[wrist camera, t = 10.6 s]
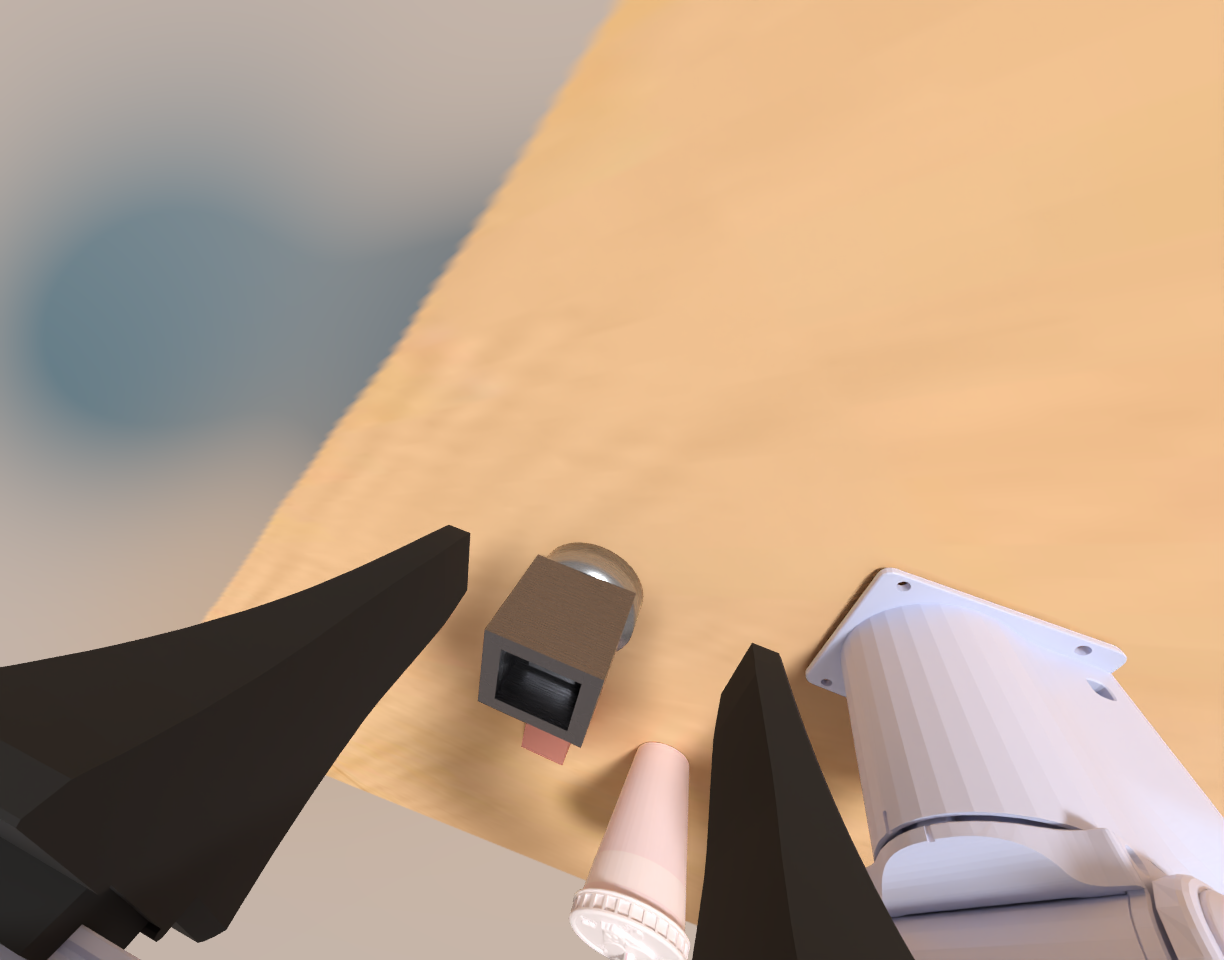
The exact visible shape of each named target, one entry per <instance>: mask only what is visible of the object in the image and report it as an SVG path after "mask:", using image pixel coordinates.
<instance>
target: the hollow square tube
mask: <svg viewBox="0 0 1224 960" xmlns="http://www.w3.org/2000/svg"><path fill="white" fill-rule="evenodd" d="M635 595H636V593H634V592H632V591H629V590H627V589H624V588H622V587H619V586H616V585H614V584H611V583H609V582H606V581H604V580H601V579H599V578H596V577H594V576H591V575H589V574H586V573H583V572H581V571H578V570H576V569H573V568H571V567H568V566H566V565H563V564H561V563H558V562H555V561H553V560H550V559H548V558H545V557H543V556H540V555H538V556H537V557H536V559H535V560H534V561H533V563H532V564H531V566H530V567H529V568H528V570H527V571H526V573H525V574H524V575H523V577H522V578H521V580H520V581H519V582H518V584H517V585H516V587H515V588H514V589H513V591H512V592H511V593H510V595H509V596H508V598H507V599H506V600H505V602H504V603H503V605H502V606H501V607H500V609H499V610H498V612H497V613H496V614H495V616H494V617H493V619H492V620H491V621H490V623H489V624H488V626H487V627H486V628H485V633H484V643H483V654H482V664H481V675H480V685H479V695H478V701H479V702H481V703H483V704H485V705H488V706H490V707H492V708H494V709H496V710H499V711H501V712H503V713H505V714H507V715H510V716H512V717H514V718H516V719H518V720H521V721H523V722H525V723H527V724H529V725H532V726H534V727H536V728H538V729H540V730H543V731H545V732H547V733H549V734H551V735H554V736H556V737H558V738H560V739H562V740H565V741H567V742H569V743H571V744H574V745H576V746H578V747H580V748H581V746H582V743H583V740H584V738H585V735H586V732H587V729H588V727H589V724H590V721H591V718H592V716H593V713H594V710H595V707H596V705H597V702H598V699H599V696H600V694H601V691H602V688H603V685H604V683H605V680H606V677H607V674H608V672H609V669H610V666H611V663H612V661H613V658H614V655H615V652H616V649H617V646H618V644H619V641H620V638H621V635H622V632H623V629H624V627H625V624H626V621H627V618H628V615H629V612H630V610H631V607H632V604H633V601H634V598H635ZM529 662H532V663H534V664H536V665H538V666H541V667H543V668H545V669H548V670H550V671H552V672H555V673H557V674H559V675H562V676H564V677H566V678H569V679H571V680H573V681H575V684H571V683H569V682H567V681H564V680H562V679H560V678H557V677H555V676H553V675H551V674H548V673H546V672H544V671H541V670H539V669H537V668H534V667H532V666H530V665H529Z"/></svg>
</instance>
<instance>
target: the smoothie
mask: <svg viewBox="0 0 1224 960" xmlns="http://www.w3.org/2000/svg"><path fill="white" fill-rule="evenodd" d="M688 798H689V762H688V760H687V759H686V757H685V756H684V755H683V754H682V753H681V752H679V751H678V750H676V749H675V748H673V747H671V746H668V745H666V744H662V743H657V742H648V743H644V744H642V745H640V746H639V747H638V749H637V752H636V754H635V757H634V759H633V762H632V765H631V767H630V770H629V772H628V775H627V777H626V780H625V782H624V785H623V788H622V790H621V793H620V795H619V798H618V800H617V803H616V806H615V808H614V811H613V813H612V816H611V818H610V821H609V823H608V826H607V829H606V831H605V834H604V836H603V839H602V841H601V844H600V847H599V849H598V852H597V854H596V856H595V859H594V861H593V864H592V867H591V869H590V872H589V875H588V877H587V880H586V883H585V885H584V888H583V889H580V890H579V891H578V892H576V893H575V895H574V899H573V902H574V903H573V906H572V910H571V913H570V916H569V921H570V925H571V927H572V929H573V930H574V931H575V933H576V934H577V935H578V936H579V937H580V938H581V939H582V940H583V941H584V942H585V943H586V944H587V945H589V946H590V947H591V948H593V949H594V950H596V951H597V952H599V953H600V954H602V955H603V956H605V957H607V958H609V959H610V960H688V952H689V950H690V940H689V938H688V937H687V935H686V933H685V911H686V872H687V835H688Z"/></svg>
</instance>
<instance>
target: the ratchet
mask: <svg viewBox="0 0 1224 960" xmlns="http://www.w3.org/2000/svg"><path fill="white" fill-rule="evenodd" d="M547 558H548V559H550V560H553V561H555V562H558V563H561V564H563V565H566V566H568V567H571V568H573V569H576V570H578V571H581V572H583V573H586V574H589V575H591V576H594V577H596V578H599V579H601V580H604V581H606V582H609V583H611V584H614V585H616V586H619V587H622V588H624V589H627V590H629V591H632V592H634V593H636V595H635V598H634V601H633V604H632V607H631V610H630V612H629V615H628V618H627V621H626V624H625V627H624V629H623V632H622V635H621V638H620V641H619V644H618V646H617V649H616V651H618V650H620V649H621V648H623V647H624V646H625V645H626V644H627V643H628V641H629V640H630V638H631V635H632V632H633V629H634V627H635V624H636V621H637V618H638V615H639V612H640V609H641V606H642V602H643V590H642V586H641V583H640V581H639V578H638V577H637V575H636V573H635V572H634V570H633V569H632V568H631V567H630V566H629V565H628V563H627V562H625V561H624V560H623V559H622V558H621V557H619V556H618V555H616V554H615V553H613V552H611V551H610V550H607V549H605V548H603V547H600V546H597V545H593V544H589V543H570V544H566V545H562V546H560V547H558V548H556V549H555V550H553V551H552V552H551V553H550V554H549V556H548V557H547ZM529 665H530V666H532V667H534V668H537V669H539V670H541V671H544V672H546V673H548V674H551V675H553V676H555V677H557V678H560V679H562V680H564V681H567V682H569V683H571V684H575V681H573V680H571V679H569V678H566V677H564V676H562V675H559V674H557V673H555V672H552V671H550V670H548V669H545V668H543V667H541V666H538V665H536V664H534V663H532V662H529ZM570 744H571V743H569V742H567V741H565V740H562V739H560V738H558V737H556V736H554V735H551V734H549V733H547V732H545V731H543V730H540V729H538V728H536V727H534V726H532V725H529V724H527V723H526V726H525V731H524V736H523V741H522V746H521V747H523V748H526V749H528V750H530V751H532V752H534V753H536V754H538V755H541V756H543V757H545V758H547V759H549V760H551V761H554V762H556V763H558V764H560V765H563V762H564V759H565V757H566V754H567V752H568V749H569V746H570Z"/></svg>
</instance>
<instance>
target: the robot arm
mask: <svg viewBox="0 0 1224 960" xmlns="http://www.w3.org/2000/svg"><path fill="white" fill-rule="evenodd" d="M469 546H470V533H469V532H466V531H463V530H461V529H458V528H456V527H453V526H451V525H447V526H445V527H443V528H441V529H439V530H437V531H434V532H432V533H430V534H428V535H426V536H424V537H422V538H420V539H418V540H416V541H414V542H412V543H410V544H408V545H406V546H403V547H401V548H399V549H397V550H395V551H393V552H391V553H389V554H387V555H385V556H382V557H380V558H378V559H376V560H374V561H372V562H369V563H367V564H365V565H363V566H361V567H359V568H356V569H354V570H352V571H349V572H347V573H345V574H342V575H340V576H337V577H335V578H333V579H330V580H328V581H326V582H323V583H321V584H318V585H316V586H313V587H311V588H308V589H306V590H303V591H301V592H298V593H295V594H292V595H290V596H287V597H284V598H281V599H278V600H275V601H272V602H270V603H267V604H264V605H261V606H258V607H255V608H252V609H249V610H246V611H242V612H239V613H235V614H232V615H228V616H225V617H222V618H218V619H215V620H211V621H208V622H204V623H201V624H198V625H194V626H191V627H188V628H184V629H180V630H176V631H172V632H168V633H164V634H160V635H156V636H152V637H148V638H144V639H139V640H135V641H131V642H126V643H122V644H118V645H114V646H109V647H104V648H99V649H95V650H90V651H85V652H80V653H75V654H69V655H65V656H59V657H54V658H48V659H43V660H38V661H33V662H28V663H22V664H17V665H11V666H5V667H0V960H140V959H138V958H137V957H135V956H133V955H132V954H130V953H128V952H127V951H125V950H124V949H125V948H126V947H127V946H128V945H129V944H130V942H131V941H132V940H133V939H134V938H135V937H136V936H137V934H138V933H139V932H141V933H143V934H144V935H146V936H148V937H149V938H151V939H152V940H154V941H156V942H157V941H158V940H160V939H161V938H162V937H163V936H164V935H165V934H166V933H167V931H168V930H169V929H170V928H171V927H172V928H174V929H176V930H177V931H179V932H181V933H182V934H184V935H186V936H187V937H189V938H191V939H192V940H194V941H196V942H197V943H199V942H203V941H205V940H208V939H210V938H212V937H214V936H216V935H218V934H220V933H221V932H223V931H225V930H226V929H227V928H228V926H229V924H230V923H231V921H232V919H233V918H234V916H235V914H236V913H237V911H238V909H239V908H240V906H241V905H242V903H243V901H244V899H245V898H246V897H247V895H248V893H249V892H250V890H251V888H252V887H253V885H254V884H255V882H256V880H257V879H258V877H259V876H260V874H261V872H262V871H263V869H264V867H265V866H266V864H267V863H268V861H269V859H270V858H271V856H272V855H273V853H274V851H275V850H276V848H277V847H278V845H279V844H280V842H281V841H282V839H283V838H284V836H285V834H286V833H287V832H288V830H289V829H290V827H291V825H292V824H293V822H294V821H295V819H296V818H297V816H298V815H299V813H300V812H301V810H302V809H303V807H304V806H305V804H306V803H307V801H308V800H309V798H310V797H311V795H312V794H313V792H314V790H315V789H316V788H317V786H318V785H319V784H320V782H321V781H322V779H323V777H324V776H325V775H326V773H327V772H328V770H329V769H330V768H331V766H332V765H333V763H334V762H335V760H336V759H337V757H338V756H339V754H340V753H341V752H342V750H343V749H344V747H345V746H346V745H347V743H348V742H349V740H350V739H351V738H352V736H353V735H354V733H355V732H356V731H357V729H358V728H359V727H360V725H361V724H362V722H363V721H364V720H365V718H366V717H367V716H368V714H369V713H370V712H371V711H372V709H373V708H374V707H375V705H376V704H377V703H378V702H379V700H380V699H381V698H382V697H383V696H384V695H385V693H386V692H387V691H388V690H389V689H390V688H391V686H392V685H393V684H394V683H395V682H396V681H397V679H398V678H399V677H400V676H401V675H402V674H403V672H404V671H405V670H406V669H407V668H408V667H409V665H410V664H411V663H412V662H413V661H414V660H415V658H416V657H417V656H418V655H419V654H420V653H421V651H422V650H423V649H424V648H425V647H426V645H427V644H428V643H429V642H430V641H431V640H432V638H433V637H434V636H435V635H436V634H437V632H438V631H439V630H440V629H441V628H442V626H443V625H444V624H445V623H446V621H447V620H448V618H449V617H450V615H451V614H452V612H453V611H454V609H455V608H456V606H457V605H458V603H459V602H460V600H461V599H462V597H463V596H464V594H465V592H466V591H467V583H468V564H469ZM900 582H908V583H907V584H905V585H897V584H898V583H900ZM1079 646H1083V647H1079ZM1077 647H1079V648H1077ZM1126 660H1127V657H1126V656H1125V654H1124V653H1123V652H1122V651H1121V649H1120V648H1118V647H1116V646H1114V645H1112V644H1109V643H1106V642H1103V641H1100V640H1097V639H1094V638H1092V637H1089V636H1086V635H1083V634H1080V633H1077V632H1075V631H1072V630H1069V629H1066V628H1063V627H1060V626H1058V625H1055V624H1052V623H1049V622H1046V621H1043V620H1041V619H1038V618H1035V617H1032V616H1029V615H1026V614H1024V613H1021V612H1018V611H1015V610H1012V609H1009V608H1007V607H1004V606H1001V605H998V604H995V603H992V602H989V601H987V600H984V599H981V598H978V597H975V596H972V595H970V594H967V593H964V592H961V591H958V590H955V589H953V588H950V587H947V586H944V585H941V584H938V583H936V582H933V581H930V580H927V579H924V578H921V577H919V576H916V575H913V574H910V573H907V572H904V571H901V570H899V569H896V568H885V569H882V570H880V571H879V572H878V573H877V575H876V576H875V577H874V579H873V580H872V581H871V583H870V584H869V585H868V587H867V588H866V589H865V591H864V592H863V593H862V595H861V596H860V598H859V599H858V600H857V602H856V603H855V604H854V606H853V607H852V608H851V610H850V611H849V612H848V614H847V615H846V616H845V618H844V619H843V620H842V622H841V623H840V625H839V626H838V627H837V629H836V630H835V631H834V633H833V634H832V635H831V637H830V638H829V639H828V641H827V642H826V643H825V645H824V646H823V647H822V649H821V650H820V651H819V653H818V654H817V656H816V657H815V658H814V660H813V661H812V662H811V664H810V665H809V666H808V668H807V669H806V671H805V673H806V679H807V680H808V682H810V683H812V684H814V685H817V686H819V687H822V688H824V689H827V690H829V691H832V692H834V693H837V694H839V695H842V696H844V697H846V698H847V704H848V710H849V716H850V722H851V728H852V734H853V740H854V746H855V751H856V757H857V763H858V769H859V775H860V781H861V787H862V793H863V799H864V805H865V811H866V817H867V823H868V829H869V834H870V840H871V846H872V852H873V858H874V863H873V864H872V865H870V866H868V867H866V868H865V866H864V864H863V862H862V860H861V858H860V856H859V854H858V852H857V850H856V848H855V846H854V843H853V841H852V839H851V837H850V835H849V833H848V831H847V828H846V826H845V824H844V822H843V820H842V818H841V815H840V813H839V811H838V808H837V806H836V804H835V802H834V799H833V797H832V795H831V792H830V790H829V788H828V785H827V783H826V781H825V778H824V776H823V773H822V771H821V769H820V766H819V763H818V761H817V758H816V756H815V753H814V751H813V748H812V745H811V743H810V740H809V738H808V735H807V733H806V730H805V727H804V724H803V722H802V719H801V716H800V713H799V710H798V708H797V705H796V702H795V699H794V696H793V693H792V690H791V687H790V684H789V681H788V678H787V675H786V672H785V669H784V666H783V663H782V660H781V657H780V655H779V653H777V652H774V651H772V650H769V649H766V648H764V647H761V646H759V645H756V644H754V643H752V644H751V646H750V647H749V649H748V651H747V652H746V654H745V655H744V657H743V659H742V660H741V662H740V664H739V665H738V667H737V669H736V670H735V672H734V674H733V675H732V677H731V679H730V680H729V682H728V684H727V685H726V687H725V689H724V690H723V692H722V694H721V698H720V704H719V709H718V715H717V720H716V726H715V733H714V739H713V753H712V769H711V786H710V804H709V821H708V839H707V854H706V865H705V876H704V883H703V890H702V897H701V904H700V911H699V918H698V925H697V933H696V939H695V945H694V951H693V958H692V960H1224V818H1223V816H1222V815H1221V814H1220V812H1219V811H1218V810H1217V809H1216V807H1215V806H1214V805H1213V803H1212V802H1211V801H1210V800H1209V798H1208V797H1207V796H1206V795H1205V793H1204V792H1203V791H1202V789H1201V788H1200V787H1199V786H1198V784H1197V783H1196V782H1195V780H1194V779H1193V778H1192V777H1191V775H1190V774H1189V773H1188V771H1187V770H1186V769H1185V768H1184V766H1183V765H1182V764H1181V762H1180V761H1179V760H1178V759H1177V757H1176V756H1175V755H1174V753H1173V752H1172V751H1171V750H1170V748H1169V747H1168V746H1167V745H1166V743H1165V742H1164V741H1163V739H1162V738H1161V737H1160V736H1159V734H1158V733H1157V732H1156V730H1155V729H1154V728H1153V727H1152V725H1151V724H1150V723H1149V721H1148V720H1147V719H1146V718H1145V716H1144V715H1143V714H1142V712H1141V711H1140V710H1139V709H1138V707H1137V706H1136V705H1135V703H1134V702H1133V701H1132V700H1131V698H1130V697H1129V696H1128V694H1127V693H1126V692H1125V691H1124V689H1123V688H1122V687H1121V686H1120V684H1119V683H1118V682H1117V680H1116V679H1115V678H1114V677H1113V675H1112V674H1111V673H1113V672H1114V671H1115V670H1117V669H1118V668H1119V667H1121V666H1122V665H1123V664H1124V663H1125V662H1126ZM825 679H829V680H825Z"/></svg>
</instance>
